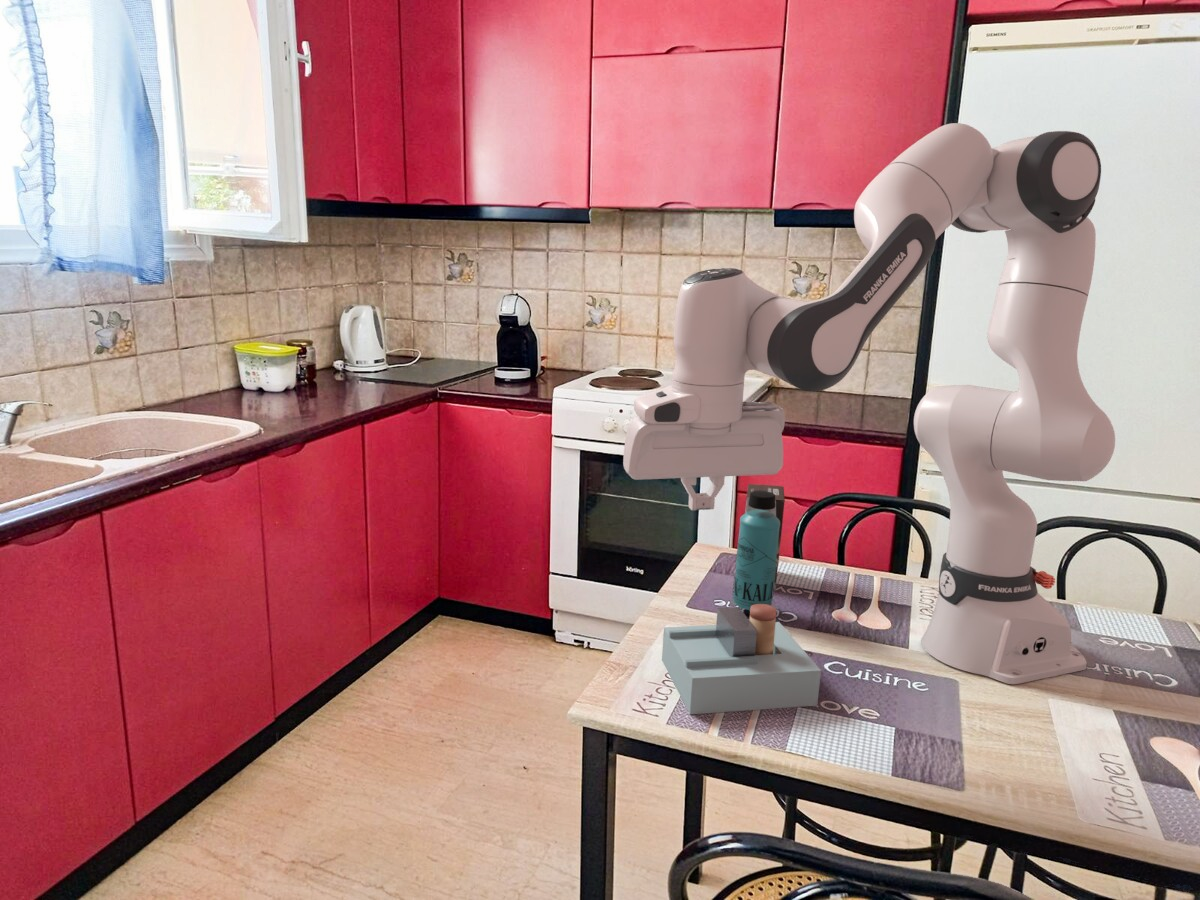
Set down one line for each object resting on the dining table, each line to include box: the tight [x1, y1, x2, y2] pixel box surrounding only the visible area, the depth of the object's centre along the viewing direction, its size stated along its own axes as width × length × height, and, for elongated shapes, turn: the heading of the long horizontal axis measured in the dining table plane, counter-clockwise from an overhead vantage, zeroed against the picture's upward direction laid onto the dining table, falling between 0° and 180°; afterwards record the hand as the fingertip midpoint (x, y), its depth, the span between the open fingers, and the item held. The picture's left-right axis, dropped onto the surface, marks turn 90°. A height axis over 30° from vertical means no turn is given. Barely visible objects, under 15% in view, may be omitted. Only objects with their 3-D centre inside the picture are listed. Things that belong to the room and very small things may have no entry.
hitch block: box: [661, 621, 822, 715], centre depth 113 cm, size 17×14×6 cm
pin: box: [749, 604, 777, 655], centre depth 113 cm, size 3×3×10 cm
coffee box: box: [744, 483, 786, 590], centre depth 147 cm, size 9×6×16 cm
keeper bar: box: [715, 606, 757, 657], centre depth 112 cm, size 3×7×4 cm, turn 10°
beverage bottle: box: [732, 491, 780, 611], centre depth 133 cm, size 6×7×20 cm
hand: (701, 508), depth 108 cm, fingers closed
